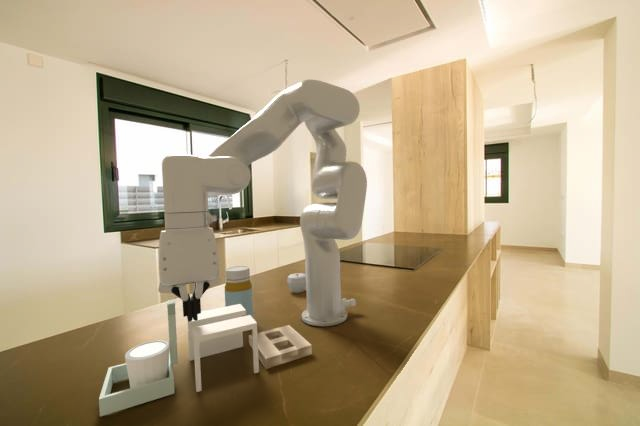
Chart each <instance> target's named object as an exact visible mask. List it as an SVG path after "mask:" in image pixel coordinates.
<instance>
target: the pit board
mask: <svg viewBox="0 0 640 426" xmlns="http://www.w3.org/2000/svg"><path fill="white" fill-rule="evenodd" d="M257 335H258V359H259V361H260V362H261V363H262V365H263V366H264V368H265V370H267V369H268V370H269V369H270V368H274V367H276V366H280V365H283V364H287V363H289V362H293V361H295V360H298V359H299V360H300V359H301V358H304V357H308V356H311V355H313V348H312V347H313V345H312V344H311V343H310V342H309V341H308V340H307V339H305V337H304V336H302V335H301V334H300V333H299V332H298V331H296V330H295V328H293V327H292V325H290V324H288V325H283V326H279V327H275V328H271V329H268V330H265V331H260V332H257ZM248 344H249V346H250V347H251V349H252V350H253V343H252V334H249V335H248Z"/></svg>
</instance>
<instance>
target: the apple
mask: <svg viewBox="0 0 640 426" xmlns="http://www.w3.org/2000/svg"><path fill="white" fill-rule="evenodd" d="M286 284H287V287H288V289H289V290H290V291H291V292H292V293H294V294H299V293H300V292H301V293H303V292H304V291H305V290H306V273H303V272H301V273H300V272H299V273H298V272H297V273H291V274H289V275H288V276H287V279H286Z"/></svg>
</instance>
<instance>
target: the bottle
mask: <svg viewBox="0 0 640 426" xmlns="http://www.w3.org/2000/svg"><path fill="white" fill-rule="evenodd" d="M250 274H251V273H250V267H249V266H248V265H247V266H246V265H240V266H239V265H237V266H230V267H227V268H225V285H224V304H225V306H224V307H227V306H232V305H237V304H241V305H242V306H243V307H244V309H245V310H246V315H243V316H247V315H251V317H252V318H253V319H254V309H253V308H254V306H253V288H252V287H253V285H252V282H251V280H250V279H251V275H250ZM243 316H242V317H243Z"/></svg>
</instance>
